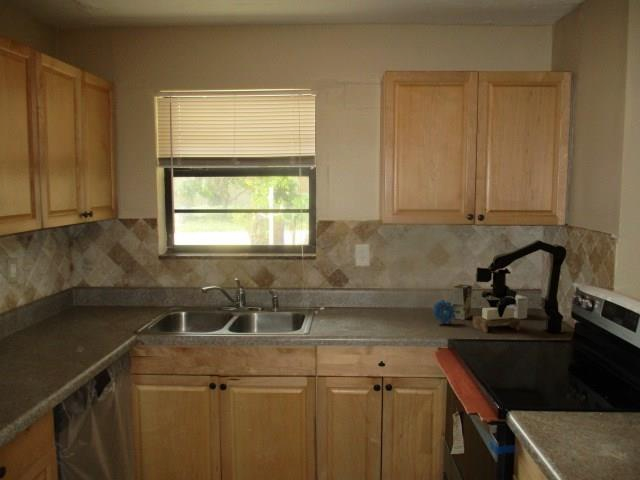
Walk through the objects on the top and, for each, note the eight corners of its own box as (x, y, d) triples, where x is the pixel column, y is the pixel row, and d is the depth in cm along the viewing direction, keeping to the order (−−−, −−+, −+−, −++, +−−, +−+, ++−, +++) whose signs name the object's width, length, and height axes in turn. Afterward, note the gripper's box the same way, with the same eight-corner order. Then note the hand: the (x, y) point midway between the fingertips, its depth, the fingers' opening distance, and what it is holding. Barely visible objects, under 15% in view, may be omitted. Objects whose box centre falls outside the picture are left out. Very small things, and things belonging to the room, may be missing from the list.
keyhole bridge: (519, 329, 242) (519, 319, 242) (485, 332, 238) (485, 321, 237) (505, 323, 253) (505, 313, 252) (472, 326, 248) (472, 316, 248)
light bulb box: (501, 314, 271) (502, 294, 269) (511, 313, 273) (512, 293, 272) (517, 319, 261) (518, 298, 260) (527, 318, 264) (528, 297, 263)
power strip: (513, 323, 243) (514, 308, 243) (486, 325, 240) (487, 310, 239) (508, 321, 247) (508, 306, 247) (482, 323, 244) (482, 308, 243)
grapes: (434, 326, 248) (435, 301, 246) (430, 323, 254) (430, 298, 253) (458, 325, 249) (459, 301, 248) (453, 322, 256) (454, 298, 254)
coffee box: (464, 320, 260) (465, 288, 258) (452, 318, 263) (452, 286, 262) (471, 316, 267) (472, 285, 265) (458, 314, 271) (459, 283, 269)
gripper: (527, 285, 235) (525, 319, 236) (502, 278, 253) (501, 310, 254) (505, 286, 232) (504, 321, 233) (481, 279, 250) (480, 311, 251)
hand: (497, 316), depth 243 cm, fingers closed on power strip, 4 cm apart
